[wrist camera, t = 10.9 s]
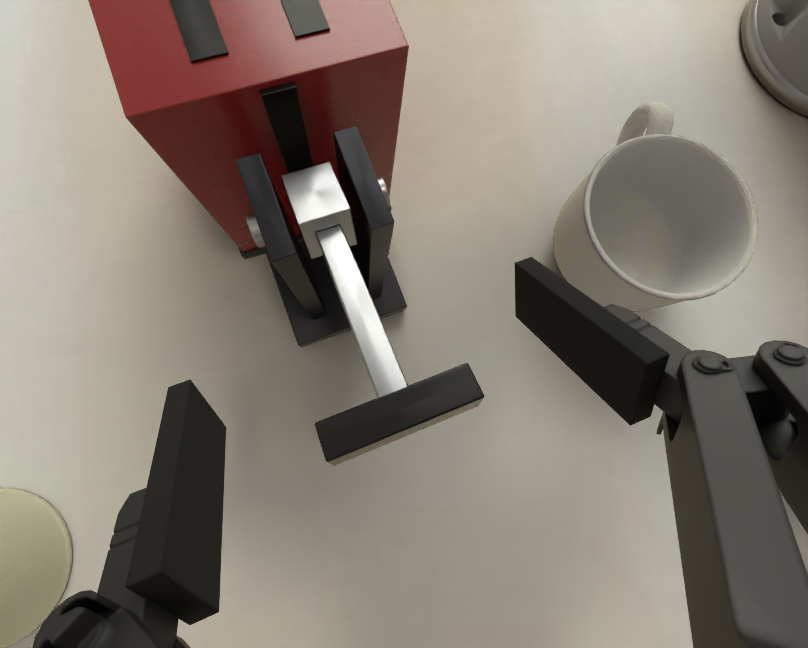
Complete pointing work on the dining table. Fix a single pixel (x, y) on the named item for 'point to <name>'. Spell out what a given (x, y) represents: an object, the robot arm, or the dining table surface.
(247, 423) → the dining table surface
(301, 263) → the bracket
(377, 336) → the press lever
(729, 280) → the teacup
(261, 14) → the toaster
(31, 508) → the can
